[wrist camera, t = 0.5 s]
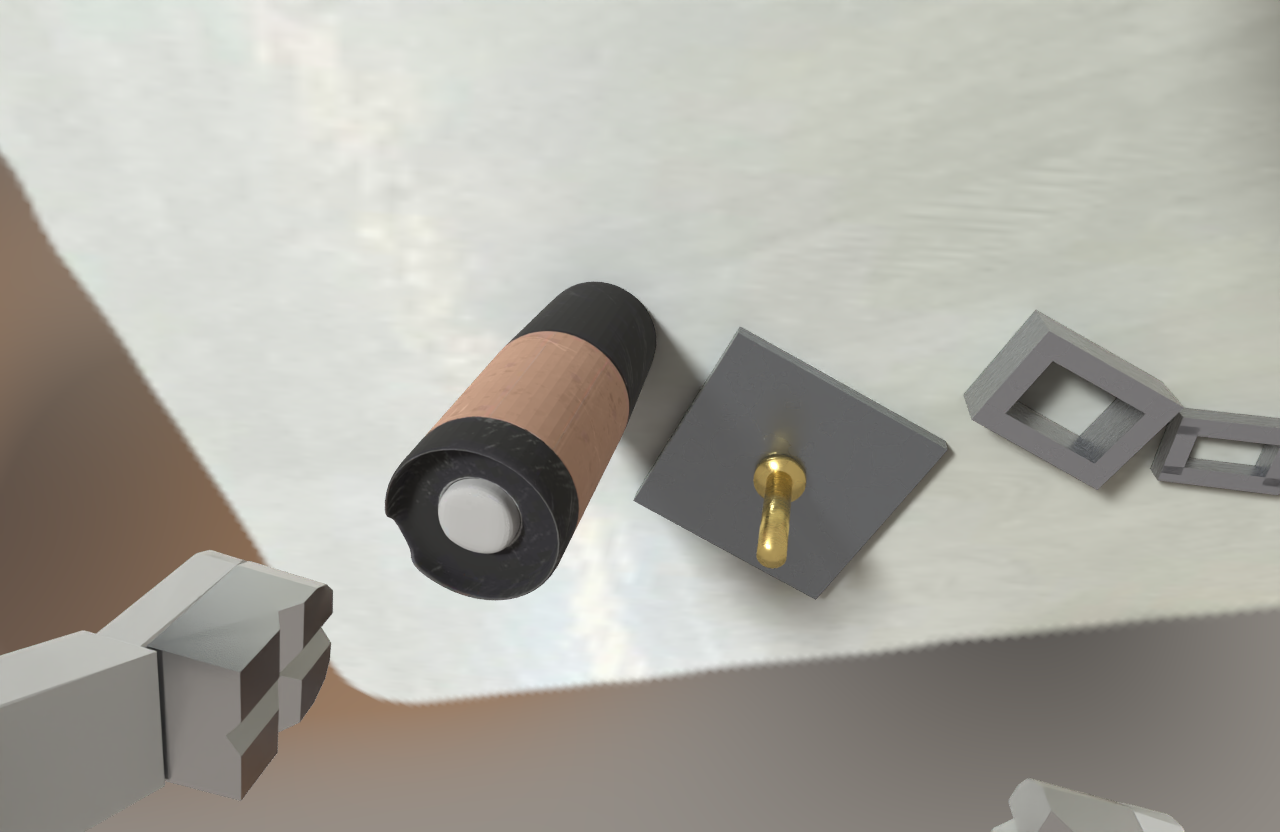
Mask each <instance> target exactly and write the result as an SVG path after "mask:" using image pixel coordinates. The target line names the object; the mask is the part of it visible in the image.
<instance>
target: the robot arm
mask: <svg viewBox="0 0 1280 832" xmlns="http://www.w3.org/2000/svg"><path fill="white" fill-rule="evenodd" d="M332 613H333V590H332V589H331V588H330V587H329V586H328V585H327V584H324V583H321V582H317V581H314V580H311V579H307V578H304V577H301V576H297V575H294V574H291V573H288V572H284V571H281V570H278V569H274V568H271V567H268V566H264V565H261V564H258V563H254V562H251V561H248V562H247V561H244V560H241V559H238V558H235V557H231V556H228V555H225V554H222V553H218V552H215V551H212V550H208V551H204V552H200V553H197V554H195V555H194V556H192V557H191V558H190V559H189V560H187V561H186V562H185V563H184V564H182V565H181V566H180V567H179V568H178V569H176V570H175V571H174V572H173V573H172V574H170V575H169V576H168V577H166V578H165V579H164V580H163V581H161V582H160V583H159V584H158V585H157V586H155V587H154V588H153V589H151V590H150V591H149V592H148V593H146V594H145V595H144V596H143V597H141V599H139V600H138V601H137V602H135V603H134V604H133V605H131V606H130V607H129V608H128V609H126V610H125V611H124V612H123V613H122V614H120V615H119V616H118V617H117V618H115V619H114V620H113V621H112V622H110V623H109V624H108V625H107V626H105V627H104V628H103V629H102V630H100V631H99V632H98V633H97V634H95V633H91V632H87V631H84V630H83V631H79V632H76V633H73V634H70V635H66V636H63V637H60V638H56V639H53V640H50V641H47V642H43V643H40V644H37V645H34V646H30V647H27V648H24V649H21V650H17V651H14V652H11V653H8V654H4V655H1V656H0V832H85V831H87V830H88V829H90V828H92V827H94V826H96V825H97V824H99V823H101V822H102V821H104V820H106V819H108V818H109V817H111V816H113V815H115V814H117V813H118V812H120V811H122V810H123V809H125V808H127V807H129V806H130V805H132V804H134V803H136V802H137V801H139V800H141V799H143V798H145V797H146V796H148V795H150V794H151V793H153V792H155V791H157V790H159V789H160V788H162V787H164V785H165V781H167V782H171V783H175V784H178V785H182V786H186V787H190V788H194V789H198V790H201V791H205V792H209V793H213V794H217V795H221V796H224V797H228V798H232V799H236V800H239V801H241V800H242V799H243V798H244V796H245V795H246V794H247V792H248V791H249V790H250V788H251V787H252V786H253V784H254V783H255V782H256V780H257V779H258V778H259V776H260V775H261V774H262V772H263V771H264V770H265V768H266V767H267V766H268V764H269V763H270V762H271V760H272V759H273V758H274V756H275V755H276V754H277V751H278V750H277V749H278V732H280V731H282V730H284V729H286V728H288V727H291V726H293V725H295V724H297V723H299V722H300V721H301V720H302V719H303V717H304V716H305V714H306V713H307V712H308V710H309V709H310V707H311V706H312V705H313V703H314V701H315V699H316V697H317V695H318V693H319V691H320V688H321V686H322V684H323V682H324V680H325V677H326V673H327V669H328V665H329V661H330V650H331V642H330V640H329V639H328V637H327V636H326V634H325V632H324V631H323V629H322V628H321V627H322V626H323V624H324V623H325V622H326V621H327V619H328V618H329V617H330V616H331V615H332ZM1009 805H1010V808H1011V811H1012V814H1013V817H1014V819H1012V820H1010V821H1008V822H1006V823H1003V824H1001V825H1000V826H997V827H995V828H993V829H992V831H991V832H1185V831H1184V829H1183V827H1182V826H1181V825H1180V824H1179V823H1178V822H1177V821H1176V820H1175V819H1174V818H1172V817H1171V816H1170V815H1169V814H1166V813H1162V812H1157V811H1154V810H1150V809H1146V808H1142V807H1138V806H1134V805H1130V804H1127V803H1123V802H1121V803H1117V802H1115V801H1112V800H1109V799H1105V798H1101V797H1097V796H1094V795H1090V794H1086V793H1082V792H1079V791H1075V790H1071V789H1067V788H1064V787H1060V786H1056V785H1053V784H1049V783H1045V782H1042V781H1038V780H1034V779H1030V778H1028V779H1026V780H1025V781H1023V782H1022V783H1020V784H1019V785H1018V786H1017V787H1016V789H1015V791H1014V792H1013V794H1012V796H1011V797H1010V799H1009Z"/></svg>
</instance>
